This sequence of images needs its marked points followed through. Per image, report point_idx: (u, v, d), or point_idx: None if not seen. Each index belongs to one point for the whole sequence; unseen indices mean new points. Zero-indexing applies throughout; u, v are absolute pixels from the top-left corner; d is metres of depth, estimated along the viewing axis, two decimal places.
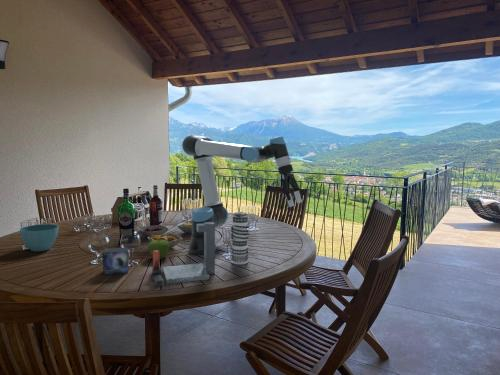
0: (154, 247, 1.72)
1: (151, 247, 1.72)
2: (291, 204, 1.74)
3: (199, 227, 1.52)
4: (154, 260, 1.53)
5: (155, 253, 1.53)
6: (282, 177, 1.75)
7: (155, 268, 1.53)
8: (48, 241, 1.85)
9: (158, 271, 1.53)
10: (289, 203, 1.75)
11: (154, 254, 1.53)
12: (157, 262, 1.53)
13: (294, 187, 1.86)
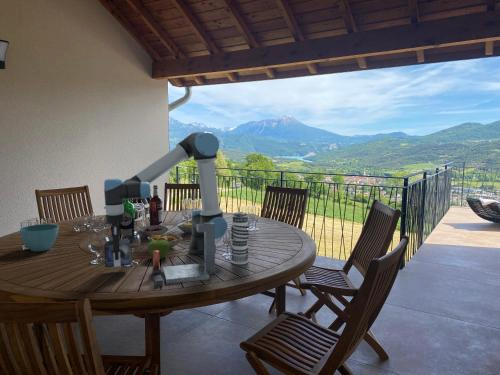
0: (154, 247, 1.72)
1: (151, 247, 1.72)
2: None
3: (199, 227, 1.52)
4: (154, 260, 1.53)
5: (155, 253, 1.53)
6: None
7: (155, 268, 1.53)
8: (48, 241, 1.85)
9: (158, 271, 1.53)
10: None
11: (154, 254, 1.53)
12: (157, 262, 1.53)
13: None
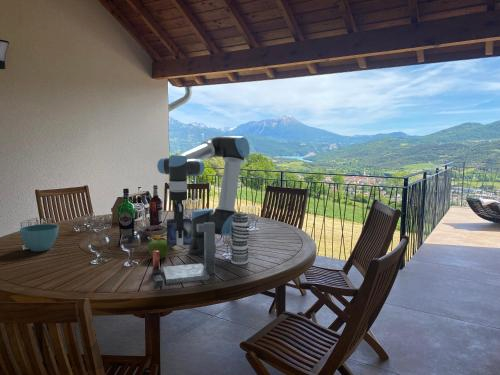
0: (154, 247, 1.72)
1: (151, 247, 1.72)
2: None
3: (199, 227, 1.52)
4: (154, 260, 1.53)
5: (155, 253, 1.53)
6: None
7: (155, 268, 1.53)
8: (48, 241, 1.85)
9: (158, 271, 1.53)
10: None
11: (154, 254, 1.53)
12: (157, 262, 1.53)
13: None
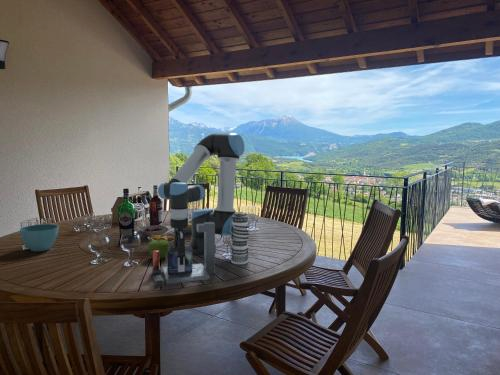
0: (154, 247, 1.72)
1: (151, 247, 1.72)
2: None
3: (199, 227, 1.52)
4: (154, 260, 1.53)
5: (155, 253, 1.53)
6: None
7: (155, 268, 1.53)
8: (48, 241, 1.85)
9: (158, 271, 1.53)
10: None
11: (154, 254, 1.53)
12: (157, 262, 1.53)
13: None
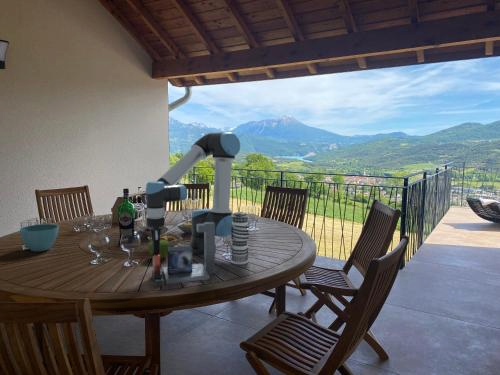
0: None
1: (151, 247, 1.72)
2: None
3: (199, 227, 1.52)
4: (155, 264, 1.47)
5: (156, 257, 1.47)
6: None
7: (156, 273, 1.48)
8: (48, 241, 1.85)
9: (159, 276, 1.48)
10: None
11: (155, 258, 1.47)
12: (158, 266, 1.48)
13: None
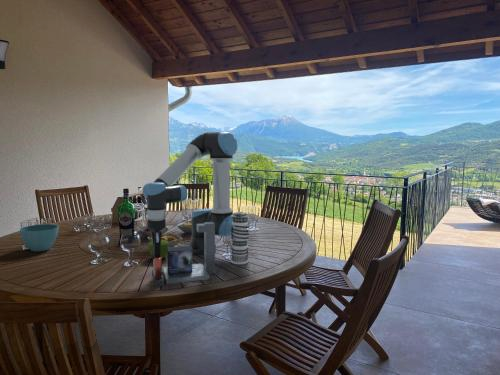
0: None
1: (151, 247, 1.72)
2: None
3: (199, 227, 1.52)
4: (156, 268, 1.44)
5: (157, 260, 1.43)
6: None
7: (157, 276, 1.44)
8: (48, 241, 1.85)
9: None
10: None
11: (156, 261, 1.43)
12: (159, 270, 1.44)
13: None
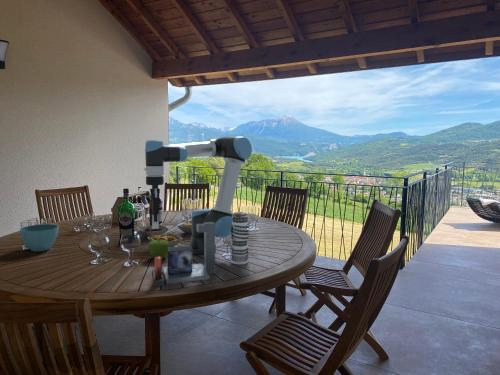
0: (154, 247, 1.72)
1: (151, 247, 1.72)
2: None
3: (199, 227, 1.52)
4: (156, 267, 1.44)
5: (157, 260, 1.43)
6: None
7: (157, 276, 1.44)
8: (48, 241, 1.85)
9: None
10: None
11: (156, 261, 1.43)
12: (159, 269, 1.44)
13: None
